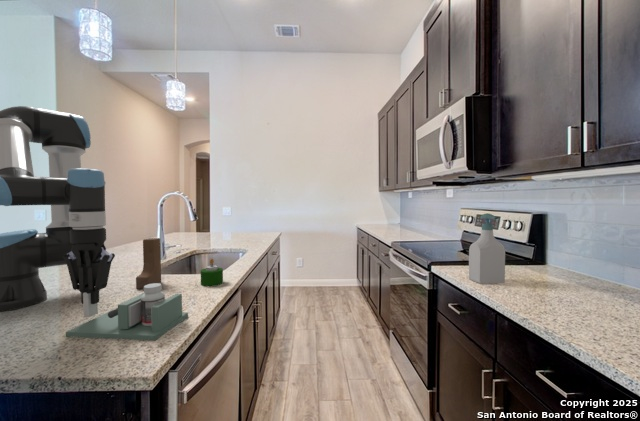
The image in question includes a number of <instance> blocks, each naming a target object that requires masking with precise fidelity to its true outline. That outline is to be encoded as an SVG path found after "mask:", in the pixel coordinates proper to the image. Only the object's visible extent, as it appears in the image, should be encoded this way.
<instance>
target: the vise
mask: <svg viewBox="0 0 640 421" xmlns="http://www.w3.org/2000/svg"><path fill="white" fill-rule="evenodd" d="M182 294H183V293H175V294H173V295H171V296H168V297H167V298H165V300H163V301H161V302H160V303H158V304H156V305H154V306H152V307H151V320H152V326H144V325H143V324H142V321H141V322H139V323H137V324H136V325H134V326H132V327H130V328H129V329H118V315H117V316H115V317H113V318H109V317H108V313H109V312H110V311H112V310H113V309H112V310H109V311H107V312H105V313H103V314H101V315H98V316H96V317H94V318H92V319H91V320H88V321H86V322H84V323H82V324H80V325H77V326H75V327H73V328H71V329H69V330H67V331H65V338H81V339H82V338H83V339H87V338H88V339H104V340H105V339H108V340H130V341H131V340H133V341H135V340H136V341H152V342H153V341H157V340H159V339H160V338H161V337H163V335H165V334H166V333H168V332H169V331H170V330H173V328H175V327H176V326H178V325H179V324H180V323H182V322H183V321H184V320H185V319H187V318H188V316H189V312H186V311H185V312H183V302H182V301H183V300H182V299H183V298H182V297H183V295H182Z"/></svg>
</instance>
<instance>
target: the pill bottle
mask: <svg viewBox="0 0 640 421" xmlns="http://www.w3.org/2000/svg"><path fill="white" fill-rule="evenodd" d="M162 289H163V287H162V284H161V283H153V284H148V285H145V286H144V289H143V293H145V294H143V295H142V297H141V313H142V324H143V325H144V326H152V320H151V307H152V306H154V305H156V304H158V303H160V302H161V301H163V300H165V299H166V295H165V292H164V291H162Z"/></svg>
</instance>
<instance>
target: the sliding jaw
mask: <svg viewBox="0 0 640 421" xmlns="http://www.w3.org/2000/svg"><path fill="white" fill-rule="evenodd" d="M143 294H145V293H144V292H143V293H140V294H138V295H136V296H134V297H131V298H130V299H126V301H122V302H120V303H119V304H117V307H116V308H115V309H112V311H111V310H109V311H110V312H109V311H108V312H109V313H108V317H109V318H113V317H115V316H117V315H118V329H129V328H130V327H132V326H134V325H136V324H137V323H139V322H141V321H142V313H141V297H142V295H143Z"/></svg>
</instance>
